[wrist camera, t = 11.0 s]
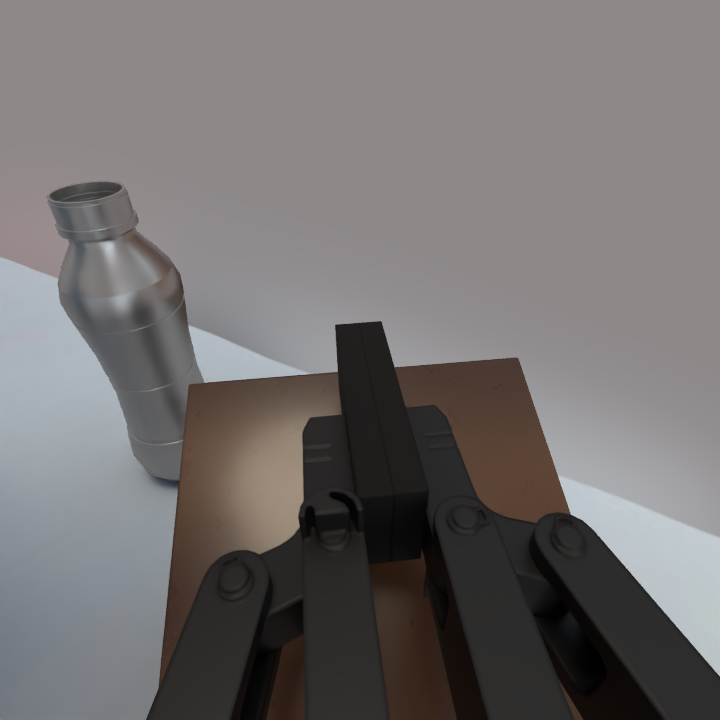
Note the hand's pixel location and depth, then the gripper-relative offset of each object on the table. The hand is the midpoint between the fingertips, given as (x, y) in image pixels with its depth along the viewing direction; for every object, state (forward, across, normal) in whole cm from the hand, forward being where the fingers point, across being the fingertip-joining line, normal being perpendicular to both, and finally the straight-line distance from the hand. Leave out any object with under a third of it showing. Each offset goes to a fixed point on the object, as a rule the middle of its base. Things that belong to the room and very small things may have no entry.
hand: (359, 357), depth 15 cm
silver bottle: (+12, -12, -18) cm, 25 cm away
